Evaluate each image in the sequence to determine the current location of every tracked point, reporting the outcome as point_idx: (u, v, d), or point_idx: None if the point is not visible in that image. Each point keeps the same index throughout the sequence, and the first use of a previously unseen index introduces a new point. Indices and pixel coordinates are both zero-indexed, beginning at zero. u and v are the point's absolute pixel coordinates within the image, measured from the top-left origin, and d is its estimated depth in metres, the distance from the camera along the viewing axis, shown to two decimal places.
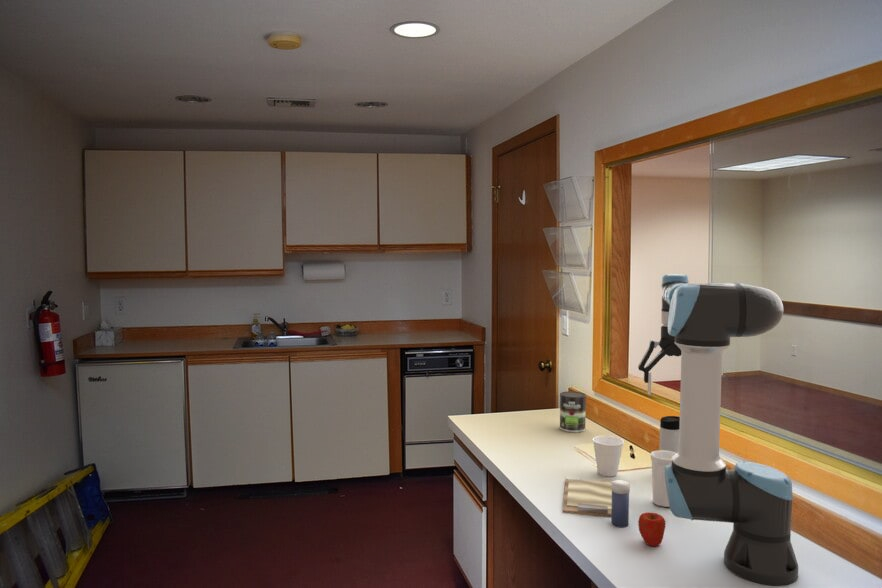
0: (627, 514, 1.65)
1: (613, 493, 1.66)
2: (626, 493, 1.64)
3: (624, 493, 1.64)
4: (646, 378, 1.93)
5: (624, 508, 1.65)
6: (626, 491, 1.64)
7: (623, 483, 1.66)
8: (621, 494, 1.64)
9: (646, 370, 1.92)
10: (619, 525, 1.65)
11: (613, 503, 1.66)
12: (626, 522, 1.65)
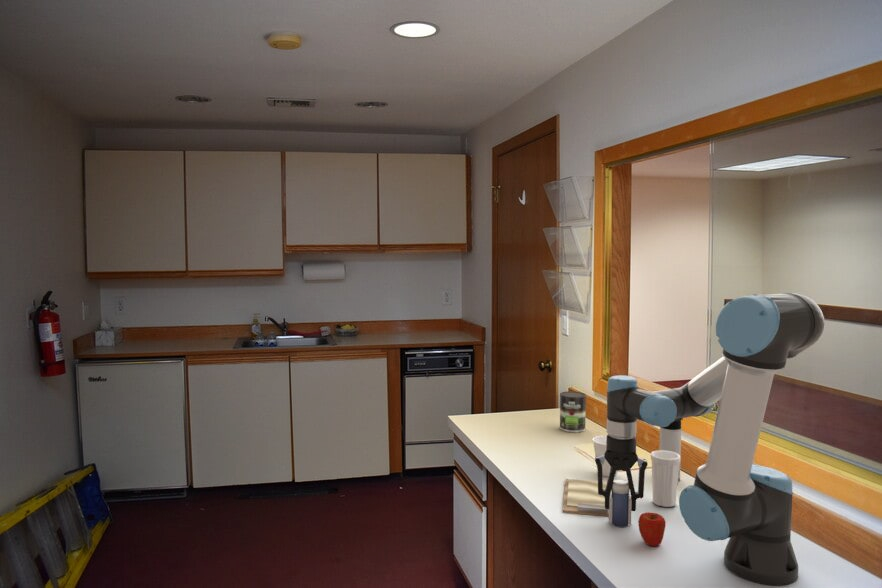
0: (627, 514, 1.65)
1: (613, 493, 1.66)
2: (626, 493, 1.64)
3: (624, 493, 1.64)
4: (607, 504, 1.67)
5: (624, 508, 1.65)
6: (626, 491, 1.64)
7: (623, 483, 1.66)
8: (621, 493, 1.64)
9: (606, 495, 1.66)
10: (619, 525, 1.65)
11: (613, 503, 1.66)
12: (625, 522, 1.65)
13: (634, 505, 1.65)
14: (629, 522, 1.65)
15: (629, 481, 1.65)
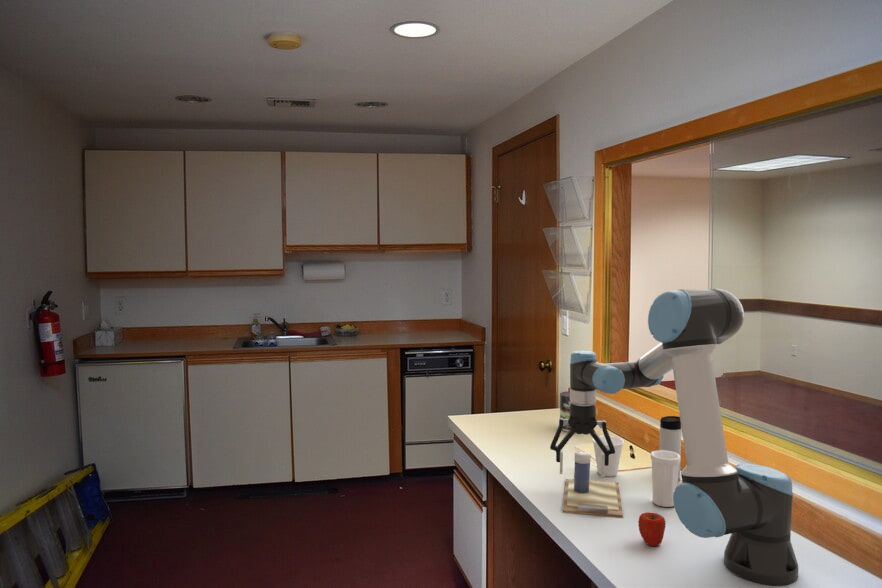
0: (586, 482, 1.85)
1: (575, 462, 1.86)
2: (585, 463, 1.84)
3: (583, 463, 1.84)
4: (558, 457, 1.90)
5: (583, 476, 1.85)
6: (585, 461, 1.84)
7: (585, 454, 1.86)
8: (580, 463, 1.84)
9: (557, 450, 1.89)
10: (578, 491, 1.86)
11: (574, 471, 1.87)
12: (584, 489, 1.85)
13: (607, 460, 1.87)
14: (602, 475, 1.87)
15: (597, 441, 1.86)
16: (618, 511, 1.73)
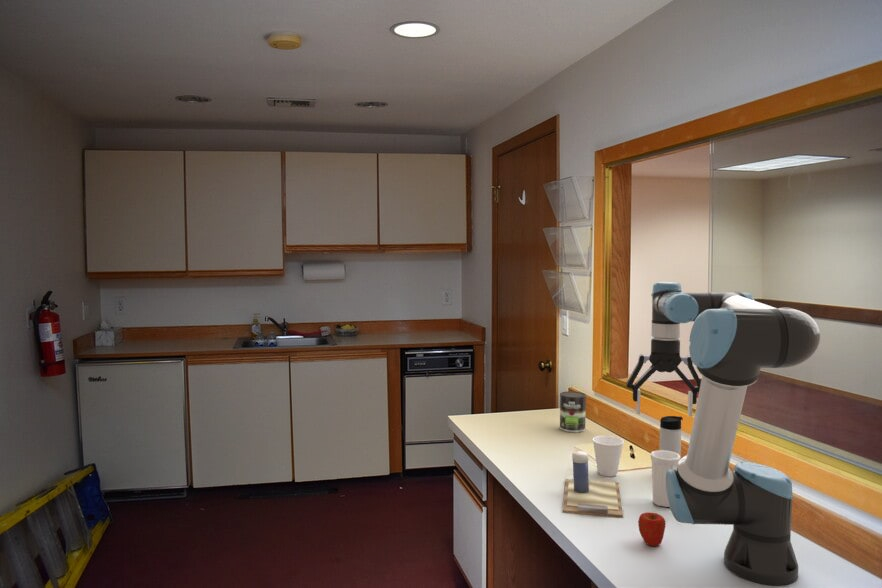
0: (585, 481, 1.85)
1: (573, 462, 1.87)
2: (582, 462, 1.85)
3: (580, 462, 1.85)
4: (635, 396, 1.76)
5: (581, 475, 1.85)
6: (582, 461, 1.84)
7: (582, 454, 1.86)
8: (577, 462, 1.85)
9: (635, 387, 1.75)
10: (577, 490, 1.86)
11: (573, 471, 1.87)
12: (583, 489, 1.85)
13: (695, 398, 1.72)
14: (690, 414, 1.72)
15: (683, 378, 1.72)
16: (618, 511, 1.73)
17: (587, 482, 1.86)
